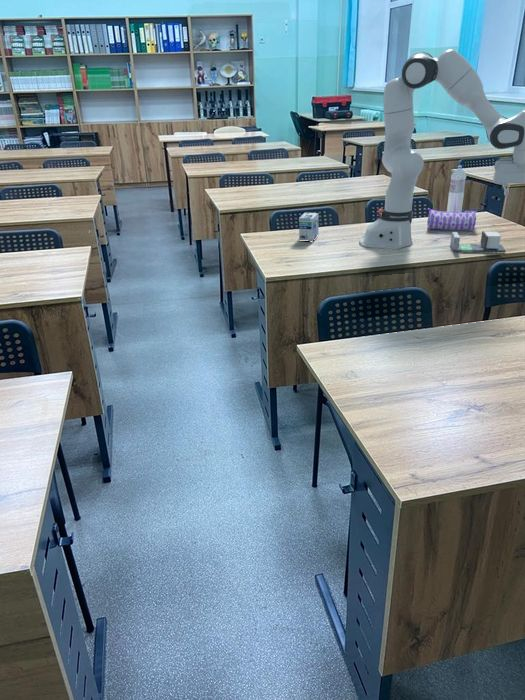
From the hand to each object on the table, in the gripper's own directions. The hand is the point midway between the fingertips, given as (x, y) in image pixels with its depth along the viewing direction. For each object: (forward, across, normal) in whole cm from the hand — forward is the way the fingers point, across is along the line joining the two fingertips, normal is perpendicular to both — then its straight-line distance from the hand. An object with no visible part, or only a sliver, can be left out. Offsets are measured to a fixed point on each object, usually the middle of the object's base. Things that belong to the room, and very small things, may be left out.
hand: (519, 194), depth 201 cm
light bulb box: (+20, -84, +9) cm, 87 cm away
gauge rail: (+22, -13, -1) cm, 25 cm away
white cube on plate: (+20, -8, -1) cm, 22 cm away
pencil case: (+22, -21, +30) cm, 42 cm away
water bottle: (+22, -18, +50) cm, 57 cm away
